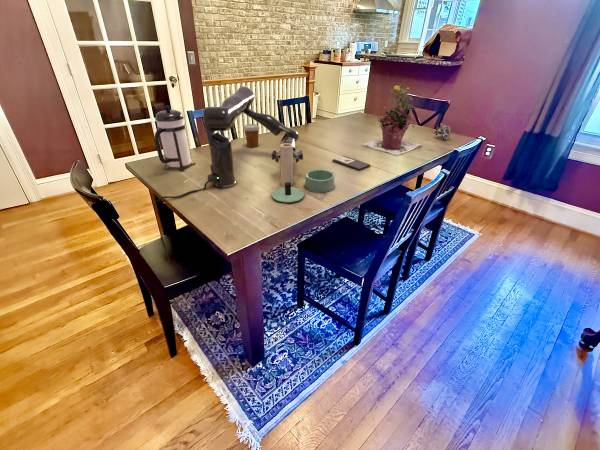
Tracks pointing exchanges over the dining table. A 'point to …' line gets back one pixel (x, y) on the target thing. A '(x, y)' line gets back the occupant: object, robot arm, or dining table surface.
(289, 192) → the lid
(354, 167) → the chocolate bar
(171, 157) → the coffee press
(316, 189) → the pot
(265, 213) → the dining table surface
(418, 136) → the dining table surface
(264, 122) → the robot arm
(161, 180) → the dining table surface
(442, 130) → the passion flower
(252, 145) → the disposable coffee cup
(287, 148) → the light brown hollow cylinder
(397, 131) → the potted flower
